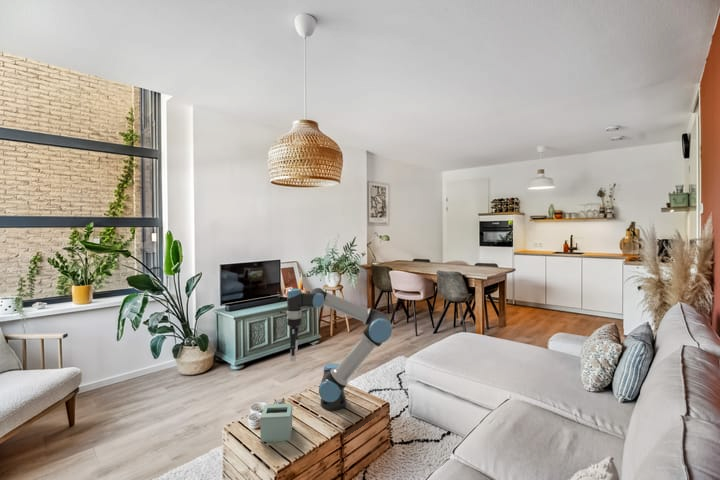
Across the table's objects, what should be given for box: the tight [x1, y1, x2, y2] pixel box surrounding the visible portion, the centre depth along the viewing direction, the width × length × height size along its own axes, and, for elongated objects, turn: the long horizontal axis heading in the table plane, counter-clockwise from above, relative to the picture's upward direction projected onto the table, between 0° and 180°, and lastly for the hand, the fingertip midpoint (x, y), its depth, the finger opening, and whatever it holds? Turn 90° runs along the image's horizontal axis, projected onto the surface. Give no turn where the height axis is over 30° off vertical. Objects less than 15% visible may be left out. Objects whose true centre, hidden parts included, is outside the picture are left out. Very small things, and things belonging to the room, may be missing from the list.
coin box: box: [259, 402, 293, 443], centre depth 173 cm, size 14×12×12 cm
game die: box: [273, 397, 286, 404], centre depth 191 cm, size 9×8×10 cm
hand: (294, 356), depth 189 cm, fingers open, 13 cm apart
